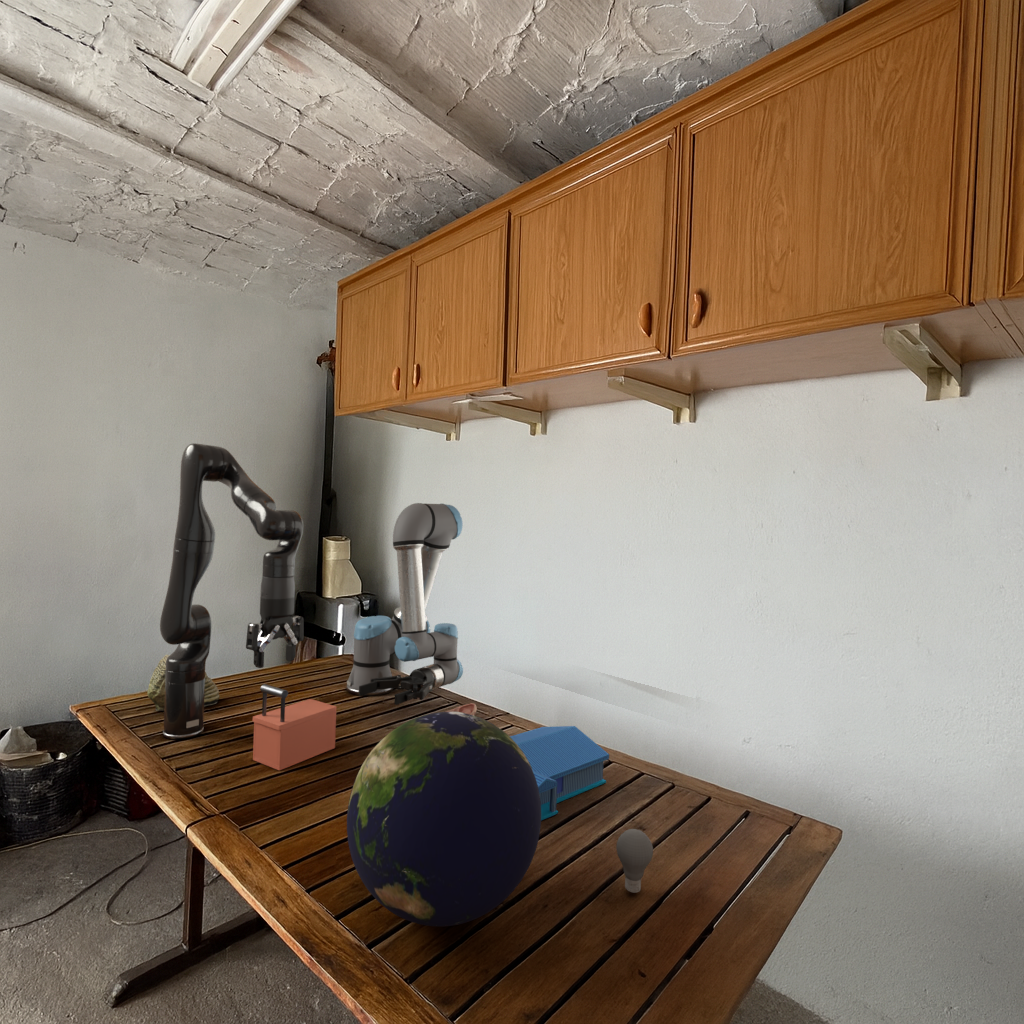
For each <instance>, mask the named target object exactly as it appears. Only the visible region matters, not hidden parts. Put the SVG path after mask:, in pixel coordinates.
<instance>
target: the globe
mask: <svg viewBox="0 0 1024 1024" xmlns="http://www.w3.org/2000/svg"><path fill="white" fill-rule="evenodd" d="M347 804H348V805H347V811H346V812H347V813H346V835H347V843H348V848H349V853H350V857H351V860H352V863H353V865H354V868H355V870H356V873H357V874H358V876H359V878H360V880H361V882H362V884H363V885H364V886H365V888H366V889H367V891H368V892H369V894H370V895H371V896H372V897H373V898H374V899H375V900H376V901H377V903H379V904H380V905H382V906H383V907H384V909H386V910H387V911H390V912H391V913H392V914H393V915H395V916H397V917H399V918H400V919H403V920H405V921H408V922H411V923H413V924H418V925H421V926H426V927H437V928H438V927H441V928H443V927H453V926H458V925H463V924H466V923H468V922H472V921H474V920H477V919H479V918H481V917H483V916H485V915H487V914H489V913H490V912H491V911H493V910H494V909H495V908H497V907H499V906H500V905H501V904H502V903H503V902H504V901H505V900H507V899H508V897H510V895H511V894H512V893H513V892H514V891H515V889H516V888H517V887H518V886H519V885H520V883H521V882H522V880H523V879H524V878H525V876H526V874H527V872H528V870H529V868H530V866H531V863H532V861H533V859H534V857H535V854H536V852H537V848H538V844H539V839H540V833H541V826H542V821H541V801H540V794H539V789H538V785H537V782H536V778H535V775H534V773H533V770H532V767H531V765H530V763H529V761H528V760H527V758H526V756H525V755H524V753H523V751H522V750H521V749H520V748H519V746H518V745H517V744H516V743H515V742H514V741H513V740H512V739H511V737H510V735H508V733H506V732H505V731H504V730H503V729H501V728H500V727H499V726H497V725H496V724H494V723H493V722H490V721H488V720H486V719H484V718H482V717H479V716H477V715H475V714H474V715H470V714H466V713H461V712H445V711H439V712H432V713H427V714H424V715H420V716H418V717H415V718H412V719H410V720H408V721H406V722H404V723H403V724H401V725H399V726H397V727H395V728H394V729H393V730H392V731H390V732H389V733H388V734H386V735H385V737H383V738H382V739H381V740H380V741H379V742H378V743H377V744H376V745H375V746H374V747H373V748H372V749H371V751H370V752H369V753H368V755H367V757H366V758H365V759H364V761H363V763H362V765H361V766H360V769H359V770H358V773H357V775H356V777H355V779H354V782H353V786H352V788H351V792H350V795H349V800H348V803H347Z"/></svg>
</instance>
